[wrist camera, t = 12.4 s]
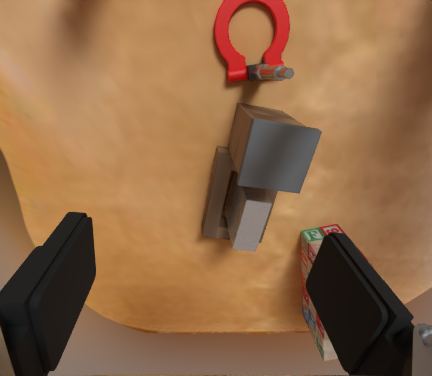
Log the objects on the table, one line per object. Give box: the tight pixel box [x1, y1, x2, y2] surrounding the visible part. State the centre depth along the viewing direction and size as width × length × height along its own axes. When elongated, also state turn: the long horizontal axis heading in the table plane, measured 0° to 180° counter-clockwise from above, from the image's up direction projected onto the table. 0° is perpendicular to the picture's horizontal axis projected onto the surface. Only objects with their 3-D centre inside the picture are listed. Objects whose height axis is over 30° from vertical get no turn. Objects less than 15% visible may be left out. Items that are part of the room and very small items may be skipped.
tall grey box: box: [224, 171, 272, 251], centre depth 36 cm, size 3×7×9 cm, turn 168°
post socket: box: [202, 103, 322, 243], centre depth 33 cm, size 9×19×11 cm, turn 169°
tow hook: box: [214, 0, 294, 82], centre depth 25 cm, size 8×13×9 cm
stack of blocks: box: [301, 224, 383, 361], centre depth 44 cm, size 21×6×12 cm, turn 10°
